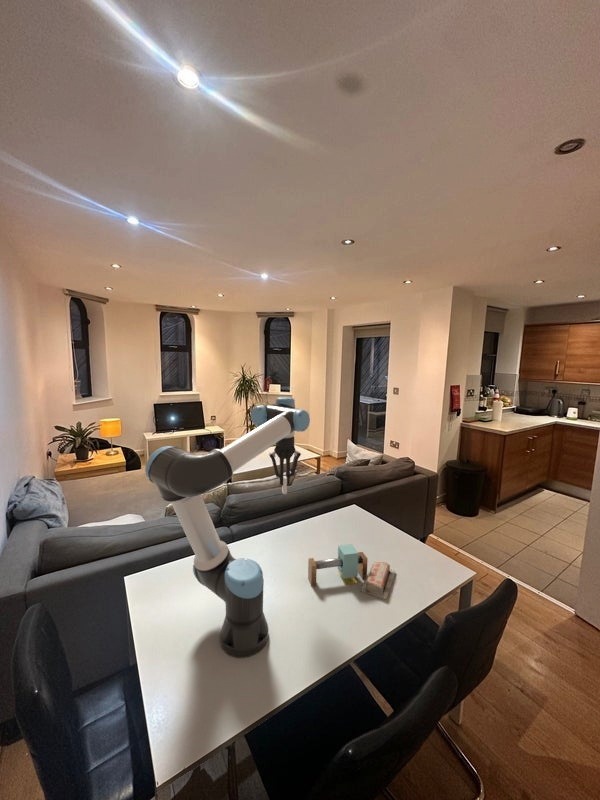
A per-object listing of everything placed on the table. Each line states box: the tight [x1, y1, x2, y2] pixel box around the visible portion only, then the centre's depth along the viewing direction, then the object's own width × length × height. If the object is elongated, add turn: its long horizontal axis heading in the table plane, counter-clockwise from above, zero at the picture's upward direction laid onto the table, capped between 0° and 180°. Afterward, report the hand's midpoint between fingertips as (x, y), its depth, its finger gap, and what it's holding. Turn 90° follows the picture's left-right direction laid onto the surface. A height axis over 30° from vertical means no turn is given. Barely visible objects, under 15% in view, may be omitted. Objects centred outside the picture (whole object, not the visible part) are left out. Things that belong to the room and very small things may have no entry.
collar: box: [337, 544, 359, 578], centre depth 134 cm, size 6×7×10 cm
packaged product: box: [360, 561, 396, 600], centre depth 132 cm, size 18×5×10 cm
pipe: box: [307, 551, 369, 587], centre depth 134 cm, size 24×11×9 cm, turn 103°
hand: (284, 492), depth 134 cm, fingers closed
